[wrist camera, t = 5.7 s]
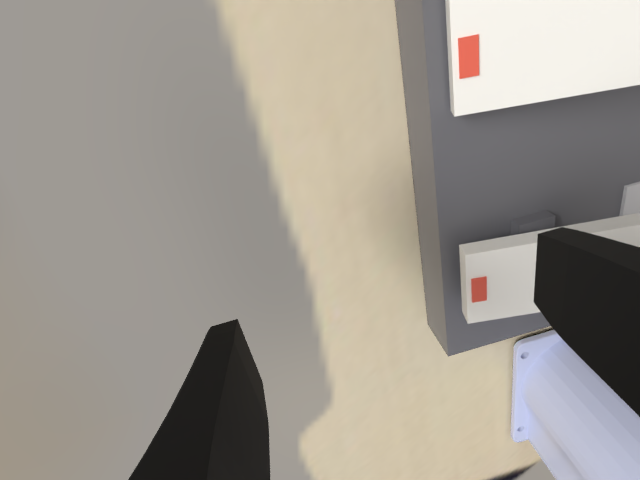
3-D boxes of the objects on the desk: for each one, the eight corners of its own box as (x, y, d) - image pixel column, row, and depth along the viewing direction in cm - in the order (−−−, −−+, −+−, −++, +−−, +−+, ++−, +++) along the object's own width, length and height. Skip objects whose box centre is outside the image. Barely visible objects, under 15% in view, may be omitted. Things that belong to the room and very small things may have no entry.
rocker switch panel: (627, 266, 24) (678, 297, 21) (427, 324, 23) (453, 365, 20) (814, -690, 10) (1028, -948, 7) (332, -616, 9) (372, -872, 7)
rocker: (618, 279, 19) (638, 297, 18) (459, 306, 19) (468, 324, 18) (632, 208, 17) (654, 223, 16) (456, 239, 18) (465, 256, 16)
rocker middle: (668, 68, 14) (693, 76, 13) (448, 107, 15) (455, 117, 14) (694, -63, 12) (725, -67, 11) (442, -6, 13) (449, -5, 12)
